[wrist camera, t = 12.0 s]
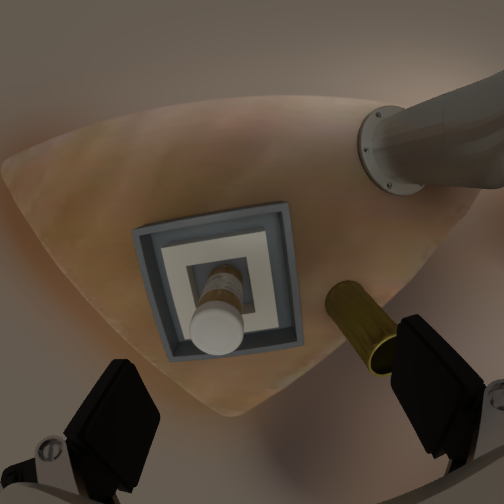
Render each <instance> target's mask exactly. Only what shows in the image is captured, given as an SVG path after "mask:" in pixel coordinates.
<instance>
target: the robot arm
mask: <svg viewBox="0 0 504 504" xmlns="http://www.w3.org/2000/svg"><path fill="white" fill-rule="evenodd" d="M376 116H377V117H376ZM358 148H359V155H360V158H361V162H362V164H363V166H364V169H365V171H366V172H367V174H368V175H369V177H370V178H371V179H372V181H373V182H374V183H375V184H376V185H377V186H379V187H380V188H381V189H383V190H384V191H386V192H388V193H391V194H395V195H402V196H404V195H411V194H414V193H417V192H418V191H420V190H421V189H422V188H423V187H424V186H425V185H439V186H455V187H469V188H480V189H498V188H502V187H504V70H503V71H501V72H498V73H497V74H494V75H493V76H490V77H488V78H485V79H483V80H480V81H478V82H475V83H473V84H470V85H467V86H465V87H462V88H459V89H456V90H454V91H451V92H448V93H445V94H443V95H440V96H438V97H435V98H432V99H430V100H427V101H425V102H423V103H420V104H417V105H415V106H413V107H410V108H408V109H404V108H401V107H398V106H384V107H380V108H378V109H376V110H374V111H373V112H371V113H370V114H369V115H368V116H367V117H366V118H365V120H364V121H363V123H362V125H361V128H360V132H359V136H358ZM364 149H365V151H366V152H364ZM387 184H388V187H387ZM391 387H392V389H393V391H394V393H395V395H396V397H397V398H398V400H399V402H400V404H401V406H402V407H403V409H404V411H405V413H406V415H407V417H408V418H409V420H410V422H411V424H412V426H413V428H414V430H415V431H416V433H417V435H418V437H419V439H420V441H421V443H422V445H423V446H424V449H425V451H426V452H427V453H428V454H430V453H431V454H432V455H433V457H434V459H436V458H438V457H440V456H442V455H444V454H447V455H448V457H449V462H448V465H447V468H446V472H445V474H444V476H443V477H441V478H439V479H437V480H435V481H433V482H431V483H429V484H427V485H424V486H422V487H420V488H417V489H415V490H412V491H410V492H408V493H405V494H403V495H400V496H398V497H395V498H392V499H389V500H387V501H384V502H381V503H378V504H504V379H501V380H496V381H493V382H491V383H490V384H489V385H488V386H487V387H486V386H485V384H484V381H483V380H482V378H481V377H479V375H478V374H477V373H476V372H475V371H474V370H473V369H472V368H471V367H470V366H469V364H468V363H467V362H466V361H465V360H464V359H463V358H462V357H461V356H460V355H459V354H458V353H457V352H456V351H455V350H454V349H453V348H452V347H451V346H450V345H449V344H448V343H447V342H446V341H445V340H444V339H443V338H442V337H441V336H440V335H439V334H438V333H437V332H436V331H435V330H434V329H433V328H432V327H431V326H430V325H429V324H428V323H427V322H426V321H425V320H424V319H423V318H422V317H421V316H419V315H418V314H415V315H412V316H409V317H405V318H403V319H402V320H401V323H399V324H398V326H397V334H396V344H395V353H394V361H393V368H392V375H391ZM159 422H160V413H159V411H158V409H157V407H156V406H155V404H154V402H153V400H152V398H151V397H150V395H149V393H148V391H147V389H146V387H145V385H144V383H143V381H142V379H141V377H140V375H139V373H138V371H137V369H136V367H135V365H134V364H133V363H131V362H130V361H129V360H128V359H114V360H113V361H111V363H110V364H109V366H108V367H107V368H106V370H105V371H104V373H103V374H102V376H101V377H100V379H99V380H98V381H97V383H96V384H95V386H94V387H93V388H92V390H91V391H90V393H89V395H88V396H87V397H86V399H85V400H84V402H83V403H82V405H81V406H80V408H79V409H78V411H77V412H76V414H75V415H74V417H73V418H72V420H71V421H70V423H69V425H68V426H67V428H66V429H65V431H64V432H63V433H64V435H65V436H66V437H67V440H66V441H65V440H63V438H62V437H59V436H48V437H46V438H44V439H43V440H41V441H40V442H39V444H38V445H37V447H36V449H35V458H32V459H30V460H27V461H24V462H21V463H18V464H15V465H12V466H9V467H8V468H6V469H5V470H4V471H3V474H2V477H1V481H0V504H120V502H119V499H118V498H117V495H116V493H115V492H116V490H117V489H118V490H120V491H124V492H128V493H132V490H133V487H136V486H137V484H138V482H139V479H140V476H141V473H142V470H143V467H144V464H145V461H146V459H147V456H148V453H149V450H150V447H151V444H152V441H153V438H154V436H155V433H156V430H157V427H158V425H159Z"/></svg>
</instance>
